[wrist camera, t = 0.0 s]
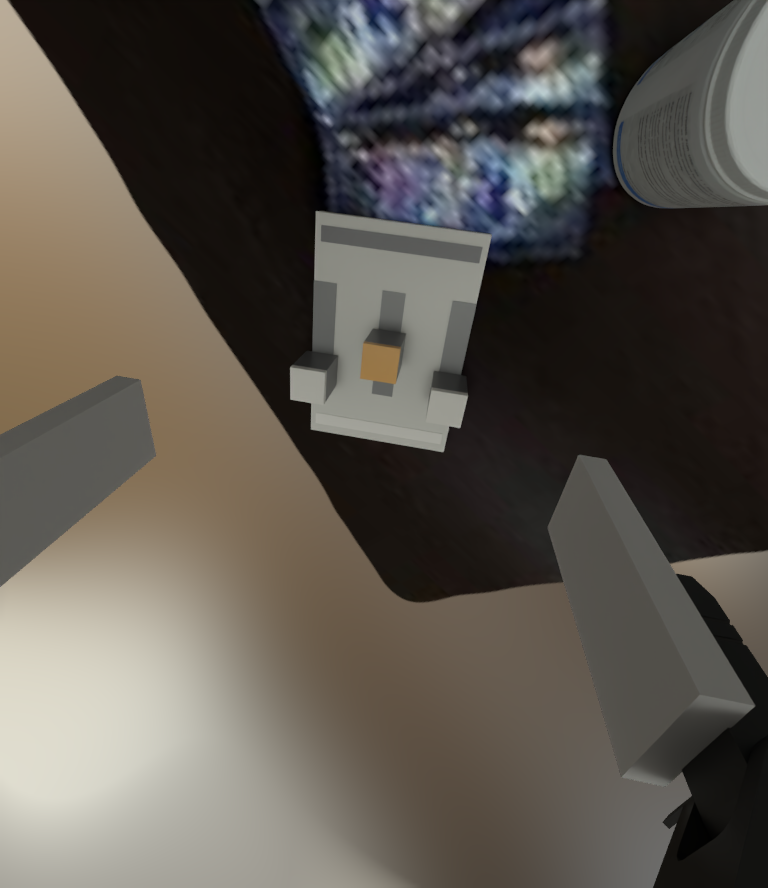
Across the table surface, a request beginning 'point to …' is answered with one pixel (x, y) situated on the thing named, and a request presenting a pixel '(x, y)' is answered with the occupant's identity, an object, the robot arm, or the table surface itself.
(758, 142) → the supplement tub
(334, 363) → the block
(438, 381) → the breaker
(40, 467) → the robot arm
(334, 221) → the panel
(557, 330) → the table surface
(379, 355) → the block
